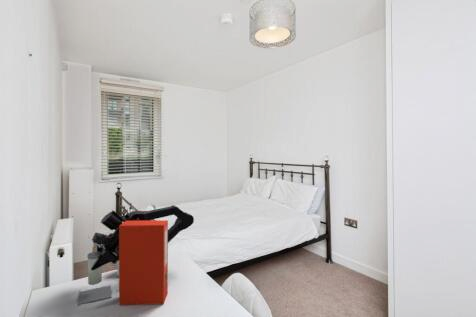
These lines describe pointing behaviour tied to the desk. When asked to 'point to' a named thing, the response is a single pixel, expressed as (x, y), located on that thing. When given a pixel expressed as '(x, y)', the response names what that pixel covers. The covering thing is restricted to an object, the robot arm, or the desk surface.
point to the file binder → (143, 262)
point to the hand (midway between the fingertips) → (91, 267)
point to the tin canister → (96, 274)
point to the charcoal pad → (94, 295)
